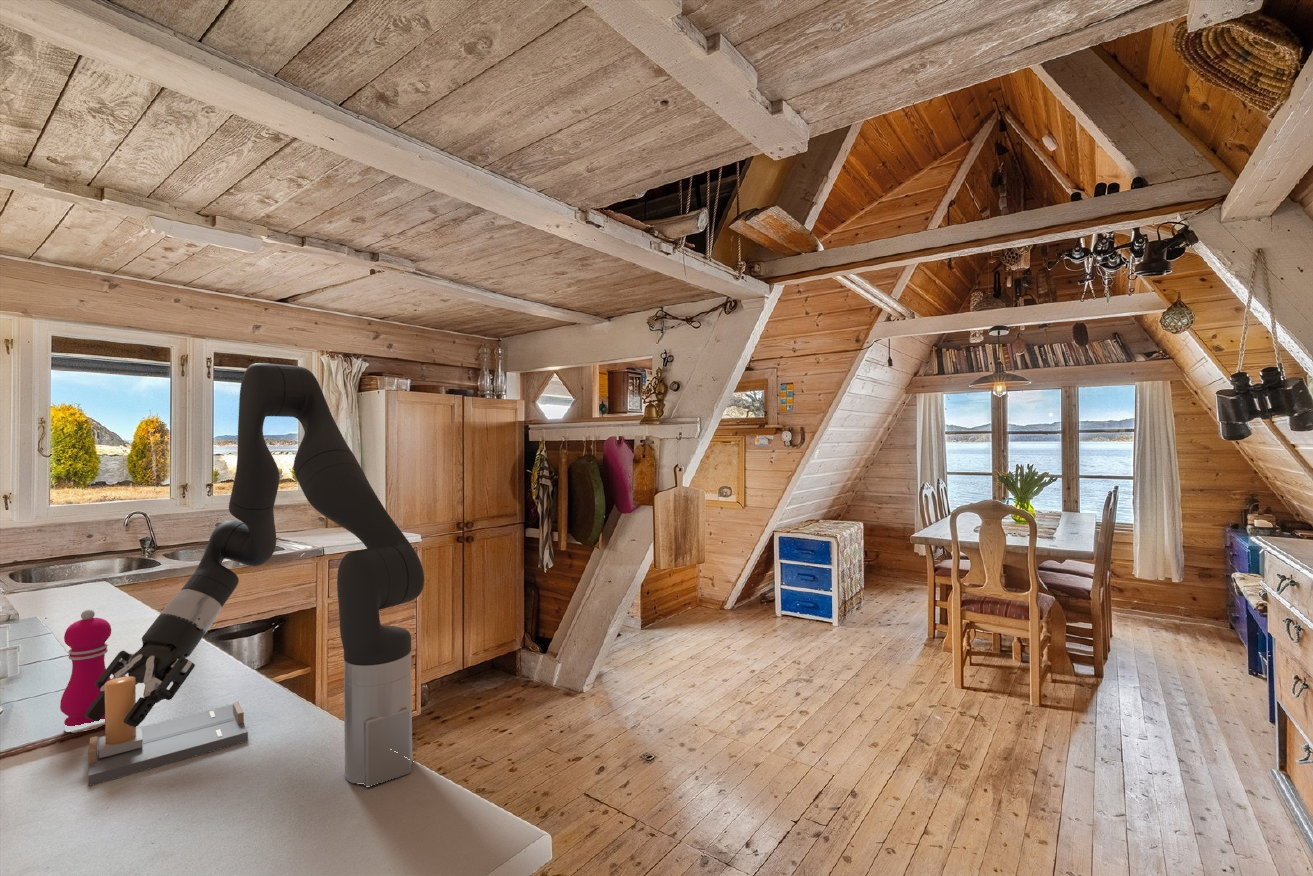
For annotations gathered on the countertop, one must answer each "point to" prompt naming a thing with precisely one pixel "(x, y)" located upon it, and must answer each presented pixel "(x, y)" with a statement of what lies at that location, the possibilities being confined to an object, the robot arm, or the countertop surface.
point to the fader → (119, 718)
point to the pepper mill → (84, 666)
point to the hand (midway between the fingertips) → (110, 721)
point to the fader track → (171, 742)
